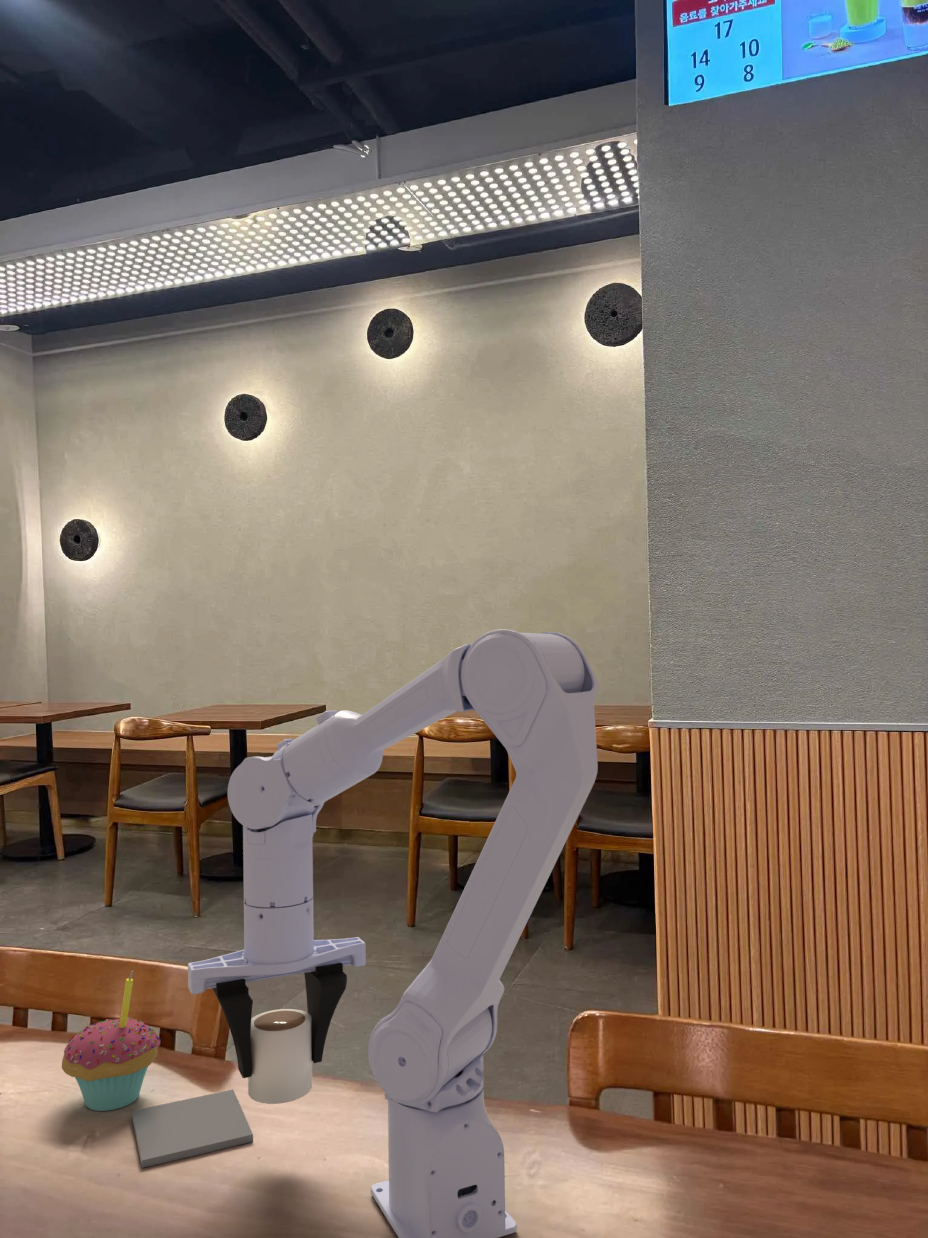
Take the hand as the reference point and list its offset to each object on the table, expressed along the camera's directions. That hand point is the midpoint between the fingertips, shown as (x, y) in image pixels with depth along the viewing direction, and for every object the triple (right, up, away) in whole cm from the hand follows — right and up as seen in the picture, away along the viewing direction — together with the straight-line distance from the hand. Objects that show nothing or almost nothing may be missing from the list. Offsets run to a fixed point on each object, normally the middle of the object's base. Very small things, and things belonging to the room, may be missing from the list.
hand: (280, 1065), depth 74 cm
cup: (0, -2, 0) cm, 2 cm away
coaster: (-9, -8, +4) cm, 13 cm away
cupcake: (-18, -8, +10) cm, 22 cm away
